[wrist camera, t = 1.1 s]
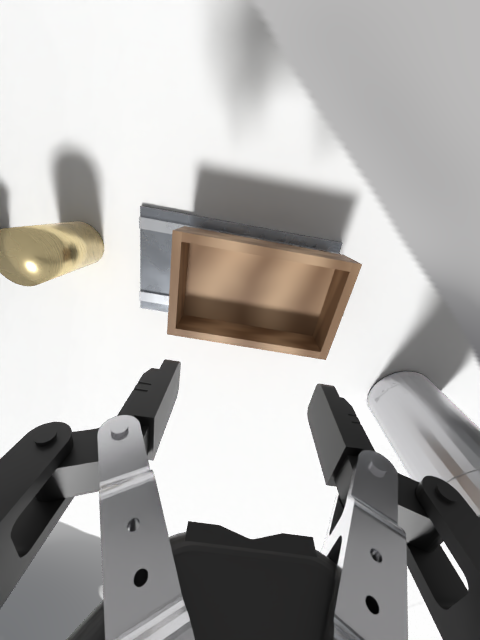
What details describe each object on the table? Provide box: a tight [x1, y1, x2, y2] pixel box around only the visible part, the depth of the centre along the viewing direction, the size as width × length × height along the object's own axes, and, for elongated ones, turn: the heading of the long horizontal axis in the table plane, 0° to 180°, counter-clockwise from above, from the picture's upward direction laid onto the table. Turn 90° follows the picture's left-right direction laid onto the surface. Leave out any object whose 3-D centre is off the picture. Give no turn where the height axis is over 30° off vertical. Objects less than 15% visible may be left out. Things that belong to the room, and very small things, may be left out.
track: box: [139, 206, 342, 312], centre depth 30 cm, size 22×12×1 cm, turn 80°
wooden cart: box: [167, 226, 362, 360], centre depth 26 cm, size 17×10×7 cm, turn 80°
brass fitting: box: [0, 221, 104, 286], centre depth 25 cm, size 5×5×9 cm
